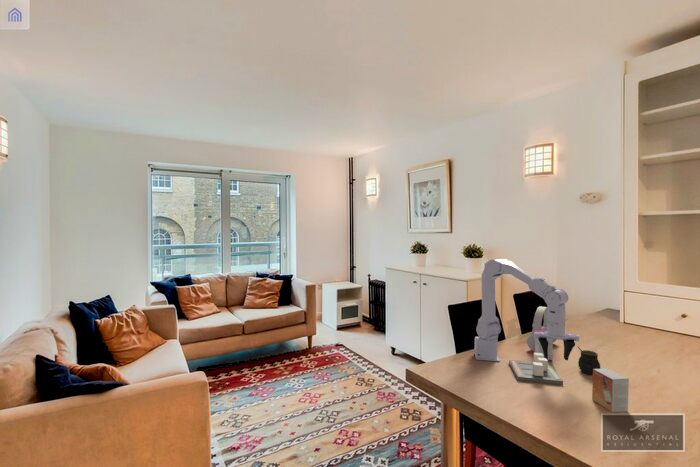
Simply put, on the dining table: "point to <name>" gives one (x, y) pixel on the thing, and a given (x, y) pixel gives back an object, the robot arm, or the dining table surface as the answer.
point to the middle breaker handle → (544, 362)
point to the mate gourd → (588, 361)
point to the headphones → (538, 325)
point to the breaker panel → (525, 373)
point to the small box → (610, 390)
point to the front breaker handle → (537, 369)
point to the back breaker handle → (538, 356)
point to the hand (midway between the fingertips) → (555, 358)
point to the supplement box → (539, 349)
